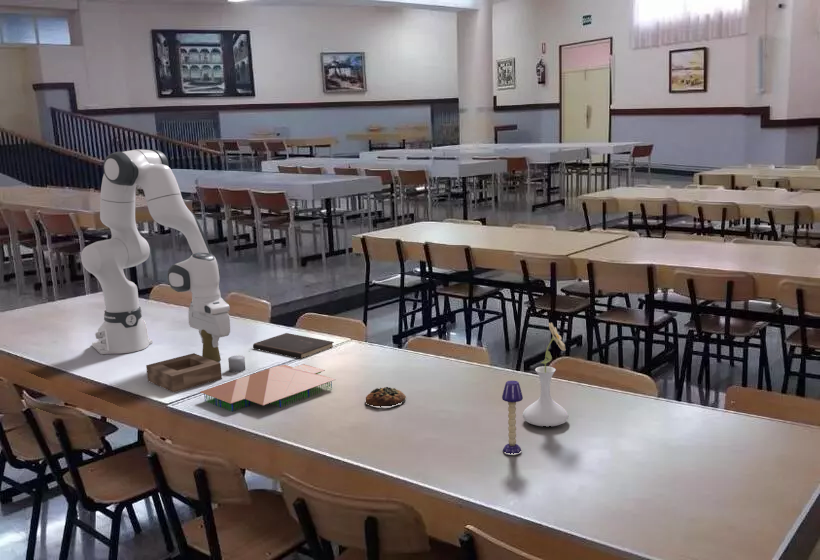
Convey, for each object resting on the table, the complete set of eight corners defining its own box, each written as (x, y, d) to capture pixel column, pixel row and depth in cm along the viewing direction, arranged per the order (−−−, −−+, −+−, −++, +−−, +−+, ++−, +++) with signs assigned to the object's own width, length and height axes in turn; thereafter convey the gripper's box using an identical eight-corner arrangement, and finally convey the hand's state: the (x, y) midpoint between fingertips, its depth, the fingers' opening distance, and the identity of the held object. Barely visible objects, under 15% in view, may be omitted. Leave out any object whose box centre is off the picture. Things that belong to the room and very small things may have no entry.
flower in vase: (558, 434, 188) (558, 333, 183) (514, 425, 194) (514, 328, 189) (577, 416, 199) (578, 320, 194) (535, 408, 205) (535, 316, 200)
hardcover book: (286, 339, 281) (286, 332, 281) (334, 348, 268) (333, 341, 267) (253, 350, 269) (252, 343, 268) (301, 360, 255) (300, 353, 255)
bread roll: (375, 412, 206) (374, 393, 206) (359, 405, 216) (357, 387, 216) (412, 405, 211) (411, 387, 211) (395, 398, 221) (394, 381, 221)
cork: (215, 363, 251) (213, 330, 249) (198, 362, 252) (195, 329, 250) (224, 357, 257) (221, 325, 255) (207, 357, 258) (204, 324, 256)
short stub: (226, 370, 246) (225, 358, 245) (239, 366, 250) (238, 354, 249) (234, 373, 243) (233, 361, 242) (248, 369, 246) (247, 357, 245)
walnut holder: (147, 380, 238) (146, 365, 237) (195, 368, 249) (193, 353, 248) (173, 392, 227) (171, 376, 226) (221, 378, 238) (220, 363, 237)
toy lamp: (500, 447, 181) (499, 379, 178) (520, 446, 182) (520, 378, 178) (504, 456, 177) (504, 386, 173) (525, 455, 177) (524, 385, 174)
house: (343, 387, 227) (341, 360, 226) (250, 421, 204) (247, 392, 202) (292, 372, 243) (291, 347, 241) (200, 402, 219) (198, 375, 217)
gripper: (181, 300, 256) (185, 340, 259) (214, 310, 241) (217, 353, 244) (199, 296, 260) (202, 336, 263) (232, 306, 246) (235, 349, 249)
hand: (210, 345), depth 254 cm, fingers closed on cork, 4 cm apart
